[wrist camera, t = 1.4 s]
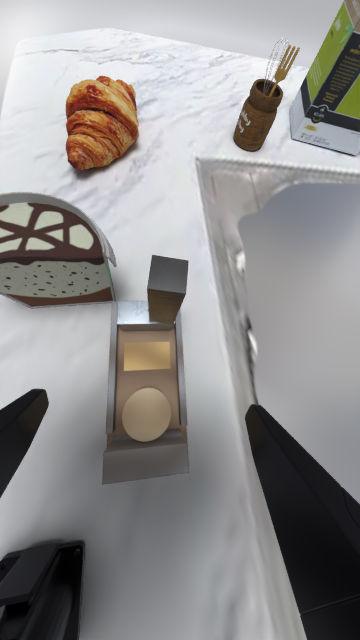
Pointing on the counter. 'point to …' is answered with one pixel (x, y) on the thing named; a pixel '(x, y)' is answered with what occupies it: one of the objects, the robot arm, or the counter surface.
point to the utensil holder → (261, 107)
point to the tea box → (332, 88)
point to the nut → (146, 414)
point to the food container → (52, 253)
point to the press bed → (124, 380)
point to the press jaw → (157, 297)
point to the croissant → (100, 122)
